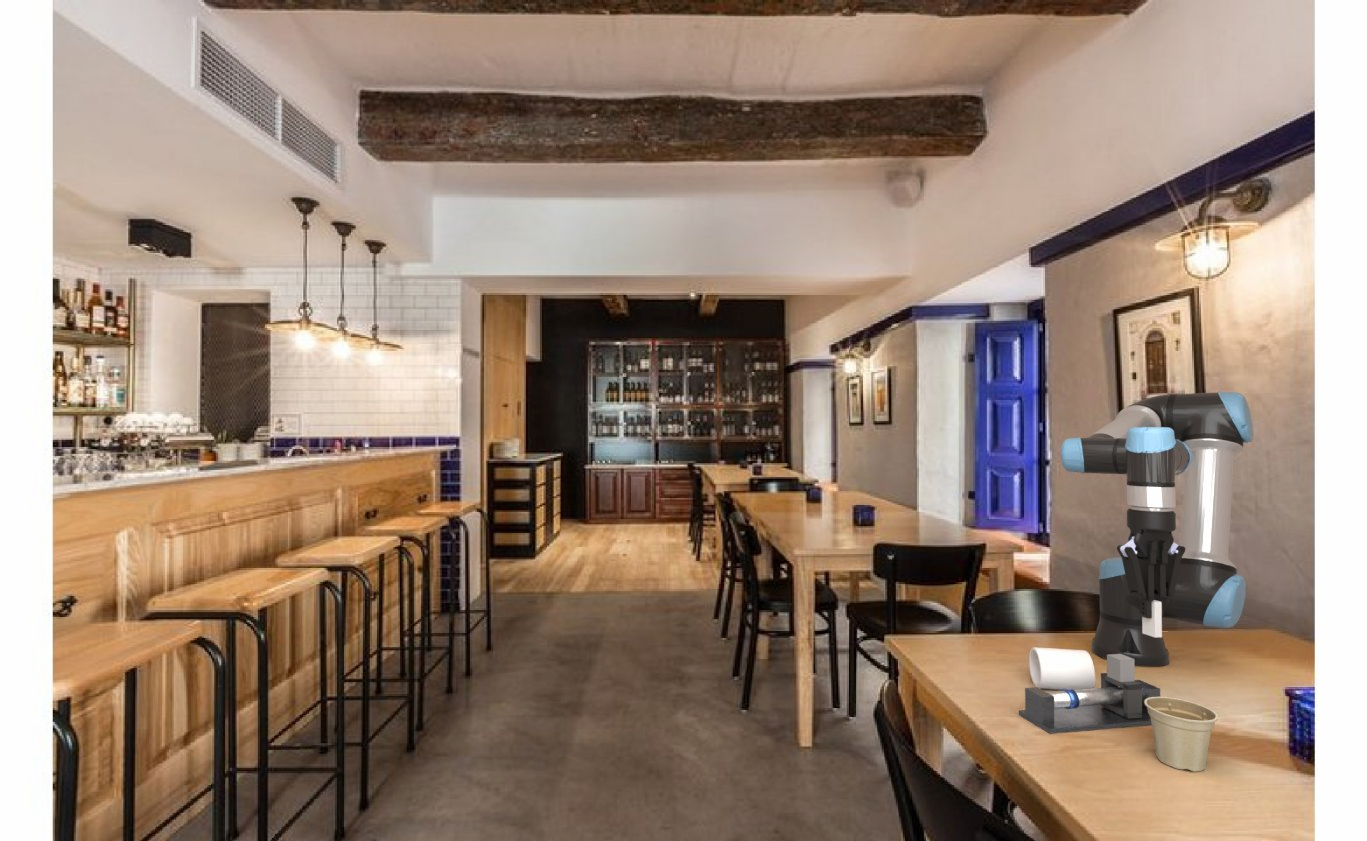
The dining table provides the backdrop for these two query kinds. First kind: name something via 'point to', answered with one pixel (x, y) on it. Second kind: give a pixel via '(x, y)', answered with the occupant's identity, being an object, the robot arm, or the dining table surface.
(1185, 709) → the flower pot
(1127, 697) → the collar
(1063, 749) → the dining table surface
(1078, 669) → the mug
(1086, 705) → the pipe rig
